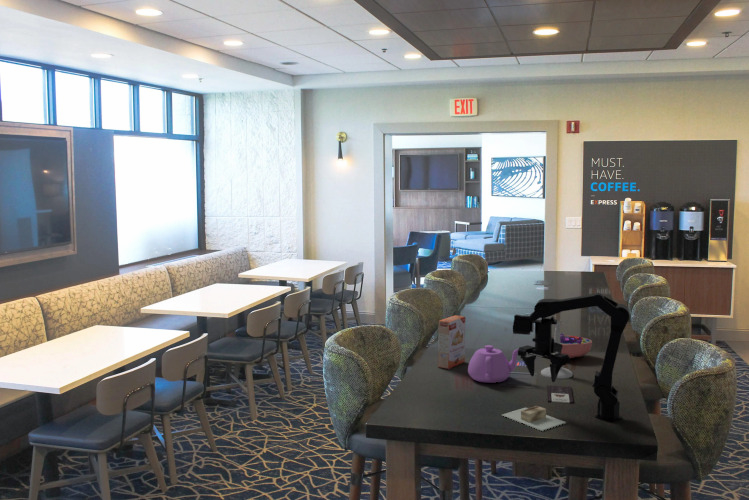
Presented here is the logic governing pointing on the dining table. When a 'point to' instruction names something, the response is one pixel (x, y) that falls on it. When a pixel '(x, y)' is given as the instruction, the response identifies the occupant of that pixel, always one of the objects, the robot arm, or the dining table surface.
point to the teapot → (491, 365)
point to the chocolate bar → (559, 394)
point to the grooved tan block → (533, 414)
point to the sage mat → (538, 424)
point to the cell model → (574, 345)
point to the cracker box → (451, 341)
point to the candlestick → (563, 372)
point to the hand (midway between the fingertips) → (542, 379)
